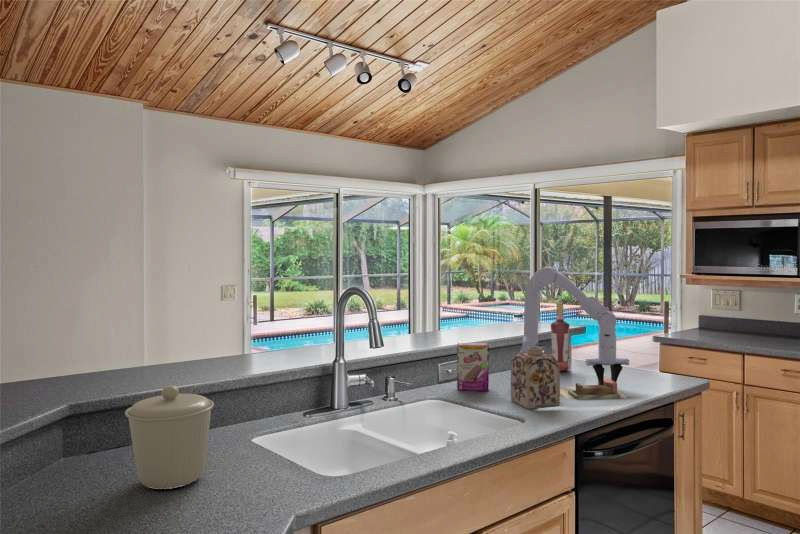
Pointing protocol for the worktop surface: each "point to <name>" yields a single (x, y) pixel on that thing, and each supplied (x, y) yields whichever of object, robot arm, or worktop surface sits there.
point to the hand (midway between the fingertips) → (607, 386)
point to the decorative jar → (535, 379)
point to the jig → (571, 394)
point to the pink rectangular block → (610, 383)
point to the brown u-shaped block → (594, 389)
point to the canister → (170, 437)
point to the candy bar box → (472, 366)
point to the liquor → (560, 339)
